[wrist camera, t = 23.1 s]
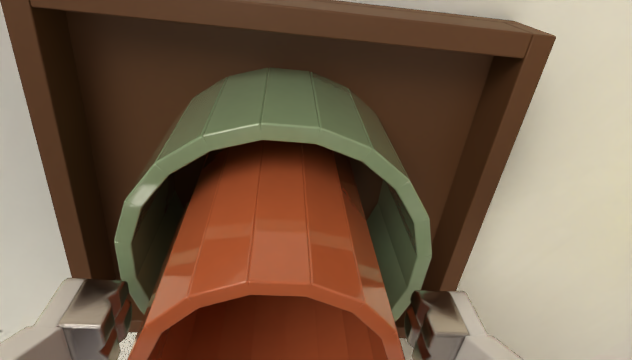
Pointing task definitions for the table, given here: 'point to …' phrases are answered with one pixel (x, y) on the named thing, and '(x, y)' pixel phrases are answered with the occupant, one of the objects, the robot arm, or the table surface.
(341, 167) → the terracotta cup
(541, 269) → the table surface
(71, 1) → the tray
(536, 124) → the table surface
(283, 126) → the sage cup
